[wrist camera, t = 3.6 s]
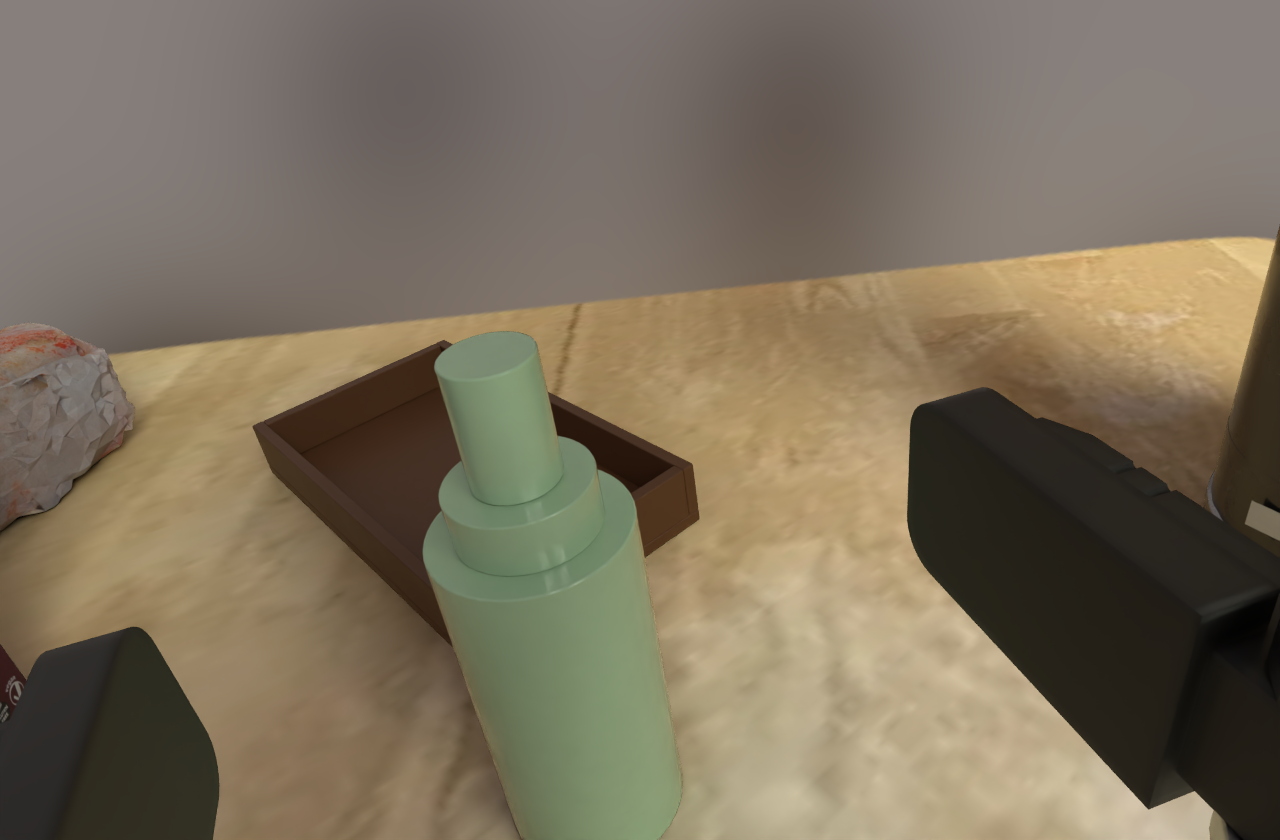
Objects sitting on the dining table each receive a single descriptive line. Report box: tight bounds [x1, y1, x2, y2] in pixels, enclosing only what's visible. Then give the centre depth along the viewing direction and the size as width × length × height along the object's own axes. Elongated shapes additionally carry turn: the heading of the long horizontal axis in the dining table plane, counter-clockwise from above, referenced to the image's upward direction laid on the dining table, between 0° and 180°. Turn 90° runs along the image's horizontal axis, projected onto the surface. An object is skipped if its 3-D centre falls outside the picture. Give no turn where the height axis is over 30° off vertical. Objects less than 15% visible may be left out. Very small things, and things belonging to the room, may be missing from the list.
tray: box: [253, 340, 699, 647], centre depth 43 cm, size 12×22×3 cm, turn 42°
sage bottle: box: [422, 331, 683, 840], centre depth 24 cm, size 6×6×16 cm
